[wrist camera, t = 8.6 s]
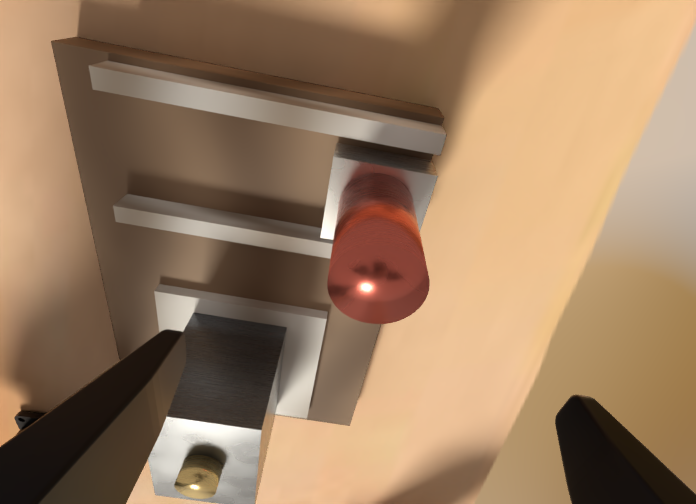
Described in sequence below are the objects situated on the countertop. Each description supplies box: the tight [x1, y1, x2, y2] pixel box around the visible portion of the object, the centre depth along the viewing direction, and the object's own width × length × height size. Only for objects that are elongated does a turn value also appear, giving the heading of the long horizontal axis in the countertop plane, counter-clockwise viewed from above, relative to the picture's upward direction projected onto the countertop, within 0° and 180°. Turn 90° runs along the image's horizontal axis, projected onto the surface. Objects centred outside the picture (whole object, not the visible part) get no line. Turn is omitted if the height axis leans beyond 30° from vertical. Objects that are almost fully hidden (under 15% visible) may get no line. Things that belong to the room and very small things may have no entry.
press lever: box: [320, 143, 438, 324], centre depth 14 cm, size 4×4×7 cm
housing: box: [148, 312, 287, 504], centre depth 20 cm, size 5×7×7 cm
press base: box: [51, 37, 447, 426], centre depth 21 cm, size 15×21×3 cm
